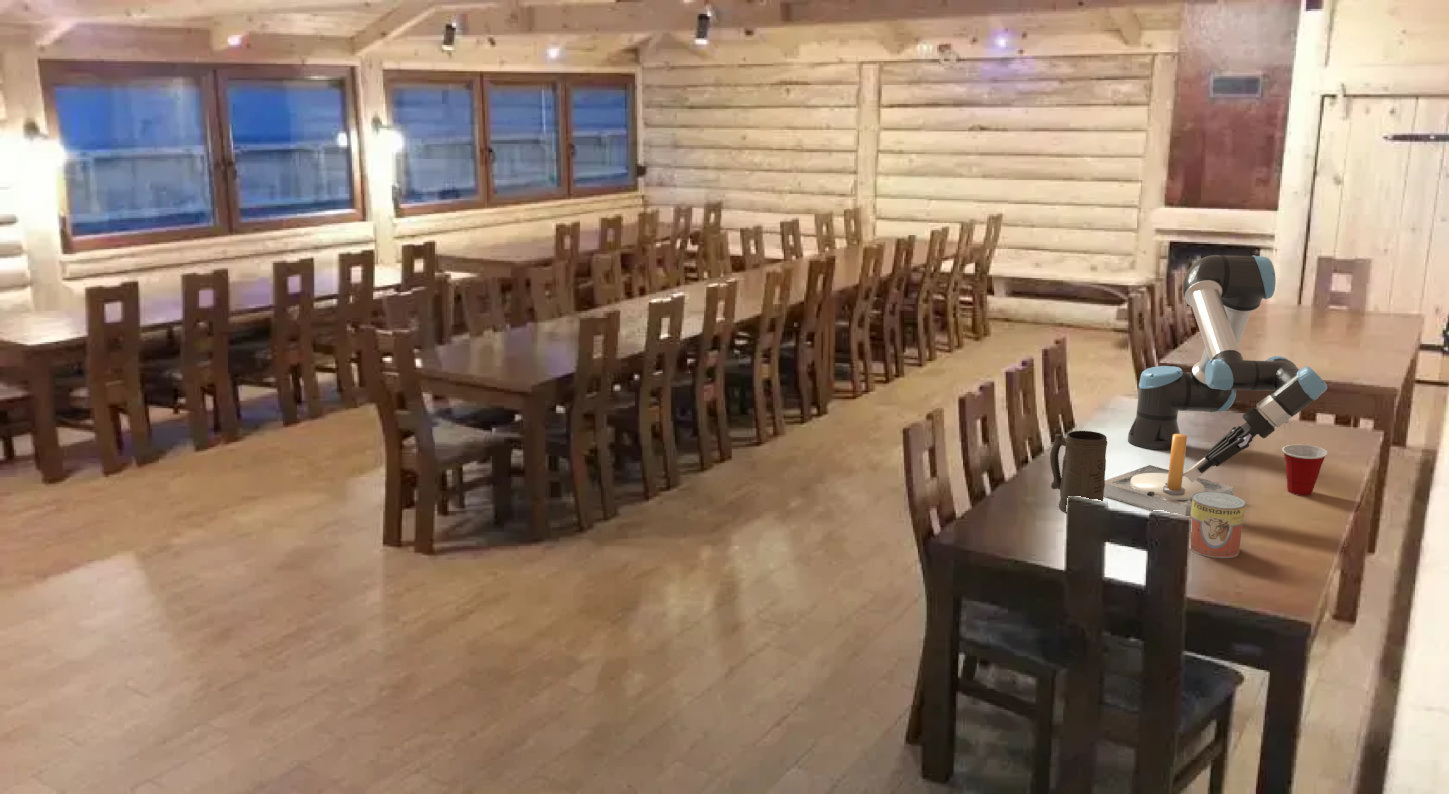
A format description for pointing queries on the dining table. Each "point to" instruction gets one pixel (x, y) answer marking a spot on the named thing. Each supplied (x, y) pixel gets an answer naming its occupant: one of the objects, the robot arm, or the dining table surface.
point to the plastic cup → (1302, 467)
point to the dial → (1170, 476)
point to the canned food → (1216, 524)
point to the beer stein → (1079, 465)
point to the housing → (1124, 492)
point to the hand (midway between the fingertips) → (1187, 478)
